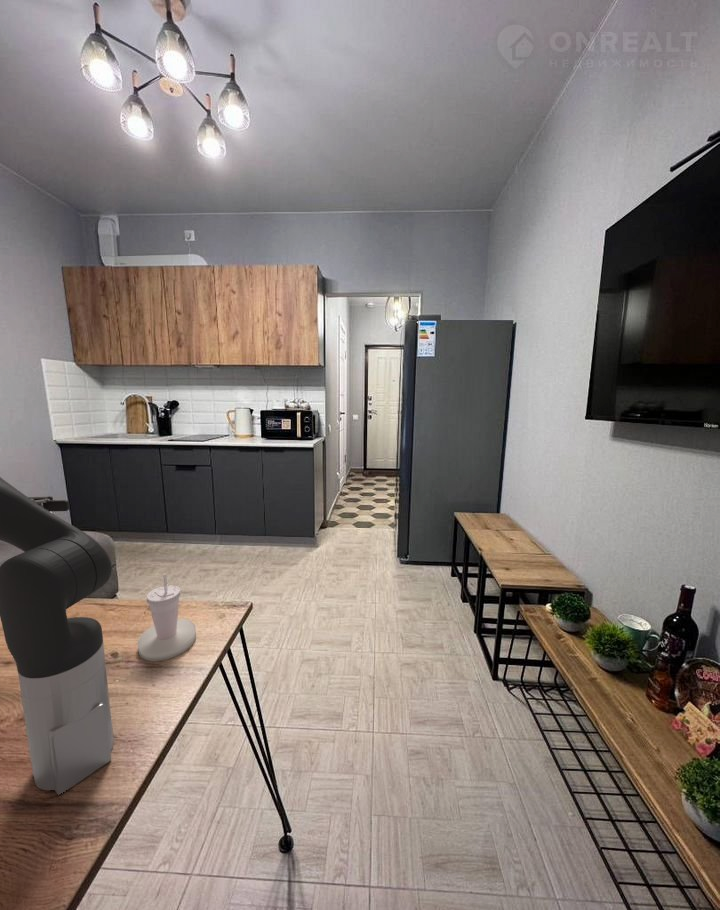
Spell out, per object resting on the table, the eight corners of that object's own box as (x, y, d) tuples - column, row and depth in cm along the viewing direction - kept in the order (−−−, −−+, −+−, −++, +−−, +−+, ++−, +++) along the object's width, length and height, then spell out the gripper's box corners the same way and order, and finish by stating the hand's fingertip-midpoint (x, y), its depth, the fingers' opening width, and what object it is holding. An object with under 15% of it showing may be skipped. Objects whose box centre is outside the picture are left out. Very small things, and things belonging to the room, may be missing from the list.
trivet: (205, 640, 78) (205, 631, 78) (152, 669, 70) (151, 660, 69) (181, 620, 85) (180, 612, 85) (129, 645, 76) (129, 636, 76)
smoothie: (170, 645, 73) (165, 582, 71) (142, 642, 74) (136, 579, 72) (189, 626, 80) (185, 568, 77) (163, 623, 81) (159, 565, 78)
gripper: (-85, 506, 60) (22, 504, 62) (-10, 485, 74) (75, 484, 76) (-77, 548, 61) (28, 544, 64) (-5, 520, 75) (79, 518, 77)
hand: (53, 512), depth 70 cm, fingers open, 8 cm apart
